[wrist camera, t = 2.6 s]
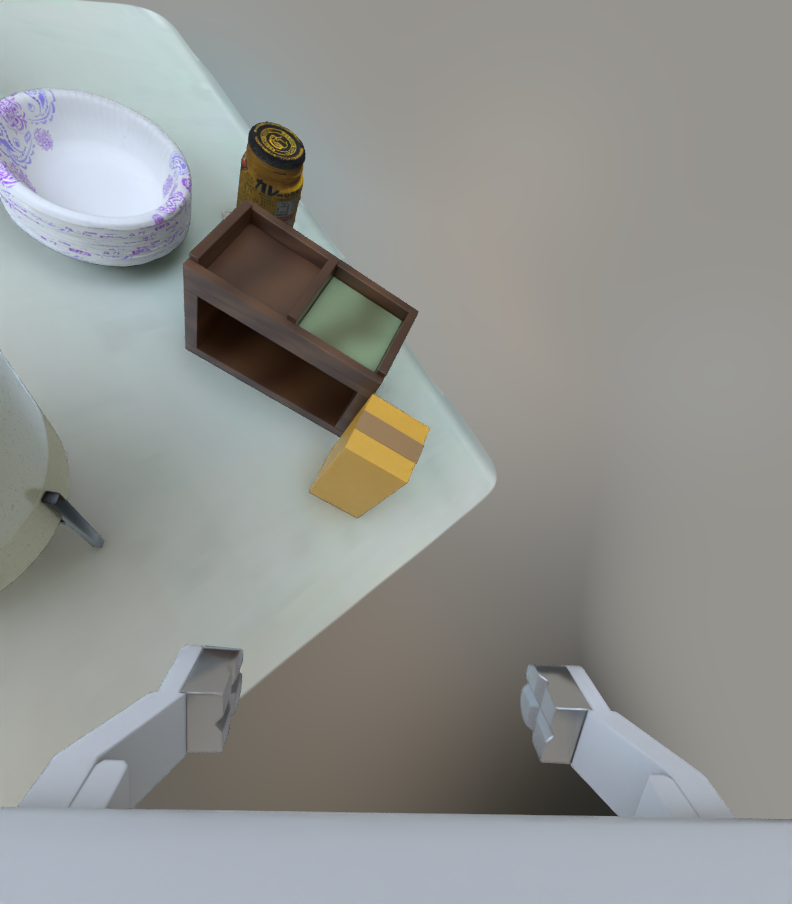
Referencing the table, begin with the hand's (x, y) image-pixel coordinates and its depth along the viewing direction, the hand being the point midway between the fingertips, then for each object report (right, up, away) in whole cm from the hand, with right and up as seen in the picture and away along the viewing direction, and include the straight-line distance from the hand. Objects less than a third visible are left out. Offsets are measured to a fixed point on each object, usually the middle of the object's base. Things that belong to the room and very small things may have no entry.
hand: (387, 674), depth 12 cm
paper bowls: (-29, +29, +32) cm, 52 cm away
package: (-5, +3, +32) cm, 32 cm away
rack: (-11, +16, +34) cm, 39 cm away
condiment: (-15, +30, +38) cm, 51 cm away
